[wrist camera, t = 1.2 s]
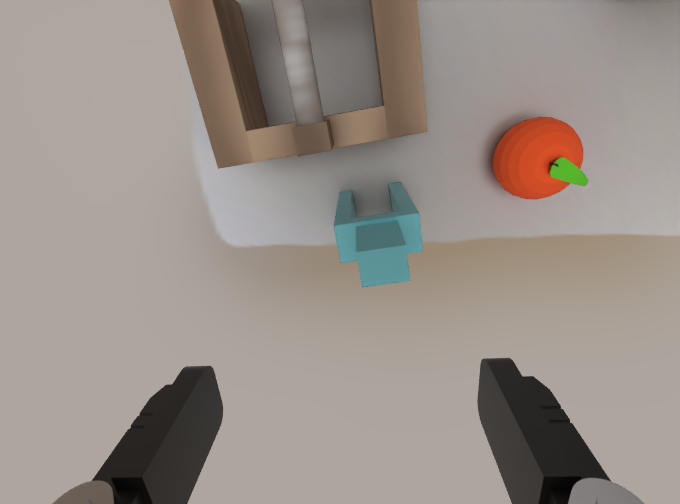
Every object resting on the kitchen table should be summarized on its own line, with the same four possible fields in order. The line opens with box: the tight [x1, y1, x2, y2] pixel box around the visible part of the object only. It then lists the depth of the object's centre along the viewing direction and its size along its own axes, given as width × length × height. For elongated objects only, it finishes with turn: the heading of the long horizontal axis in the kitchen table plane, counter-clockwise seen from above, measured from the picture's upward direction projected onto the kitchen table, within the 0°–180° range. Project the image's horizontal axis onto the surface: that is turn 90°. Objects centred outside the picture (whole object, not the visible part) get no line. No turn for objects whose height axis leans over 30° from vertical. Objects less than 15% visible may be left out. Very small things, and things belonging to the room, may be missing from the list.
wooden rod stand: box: [169, 0, 427, 169], centre depth 26 cm, size 14×12×15 cm
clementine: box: [493, 117, 588, 199], centre depth 32 cm, size 8×7×7 cm
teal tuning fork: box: [334, 182, 423, 287], centre depth 30 cm, size 6×3×16 cm, turn 100°
